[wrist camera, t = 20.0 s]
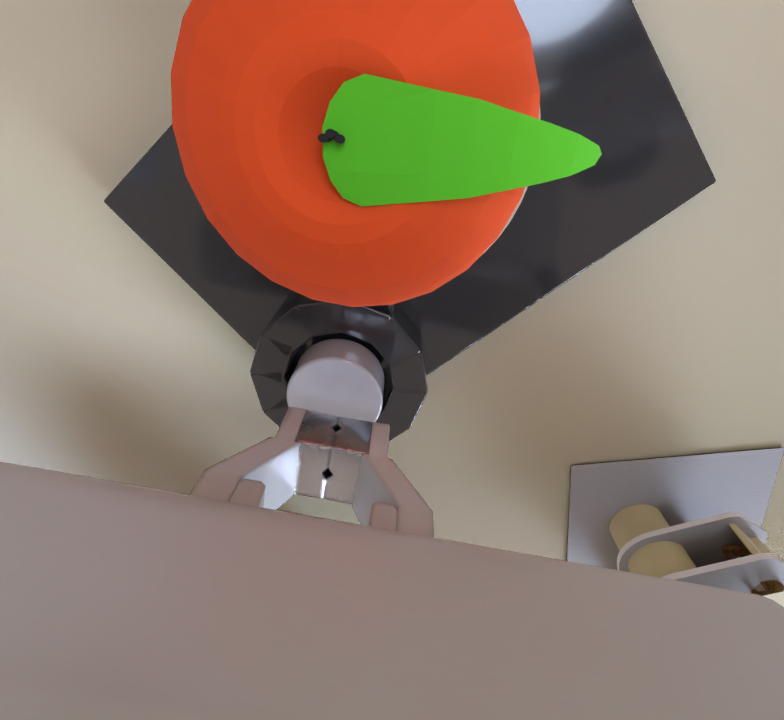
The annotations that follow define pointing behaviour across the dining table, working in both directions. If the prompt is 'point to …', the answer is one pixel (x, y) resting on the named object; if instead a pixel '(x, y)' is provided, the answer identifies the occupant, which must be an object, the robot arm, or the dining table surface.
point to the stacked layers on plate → (680, 519)
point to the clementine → (362, 137)
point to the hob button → (338, 381)
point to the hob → (503, 258)
